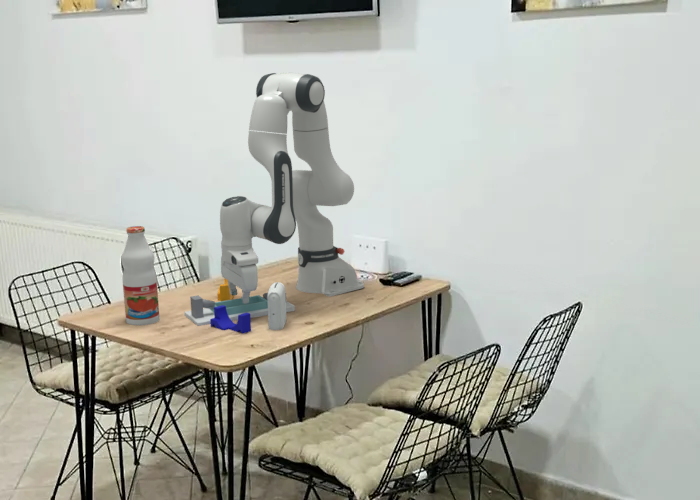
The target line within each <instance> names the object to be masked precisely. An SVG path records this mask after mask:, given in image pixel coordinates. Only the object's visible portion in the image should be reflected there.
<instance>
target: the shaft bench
mask: <svg viewBox="0 0 700 500" xmlns="http://www.w3.org/2000/svg"><path fill="white" fill-rule="evenodd" d="M267 296H268V292H265V293H263V294H262V296H261V295H260V294H257V295H251V296H249V303H246V304H244V303H243V302H242V299H241V297H239V298H233V299H232V300H226V301H213V300H209V299H204V298H202V297H201V296H200V295H192V296H190V310H188V311H183V313H184V317H186V318H187V319H188V320H190V321H191V322H192V323H194V324H195V325H196V326H197V327H200V326H205V325H211V321H210V319H212V318H215V316H214V307H218V306H221V305H224V306H226V311H227V314H228V316H229V318H230V319H231V321H232V322H234V321H238V315H240V314H243V313H250V318H251V319H253V318H258V317H259V318H260V317H266V316H268V299H267ZM285 296H286V297H287V292H285ZM295 310H296V307H295V305H294V304H292V303H291V302H289V301H288V300H286V313H290V312H295Z"/></svg>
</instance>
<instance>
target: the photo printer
mask: <svg viewBox="0 0 700 500" xmlns="http://www.w3.org/2000/svg"><path fill="white" fill-rule="evenodd" d="M267 291H268V292H267V293H268V296H267V299H268V315H267V316H268V317H267V318H268V330H271V331H279V330H280V331H281V330H283V328H284V327H285V325H286V322H287V312H286V301H287V295H286V296H285V293H286V286H285V285H284V284H283V283H282V282H280V281H279V282H277V281H275V282H273V283H272V284H271V285H270V287H269V288H268V290H267Z"/></svg>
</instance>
